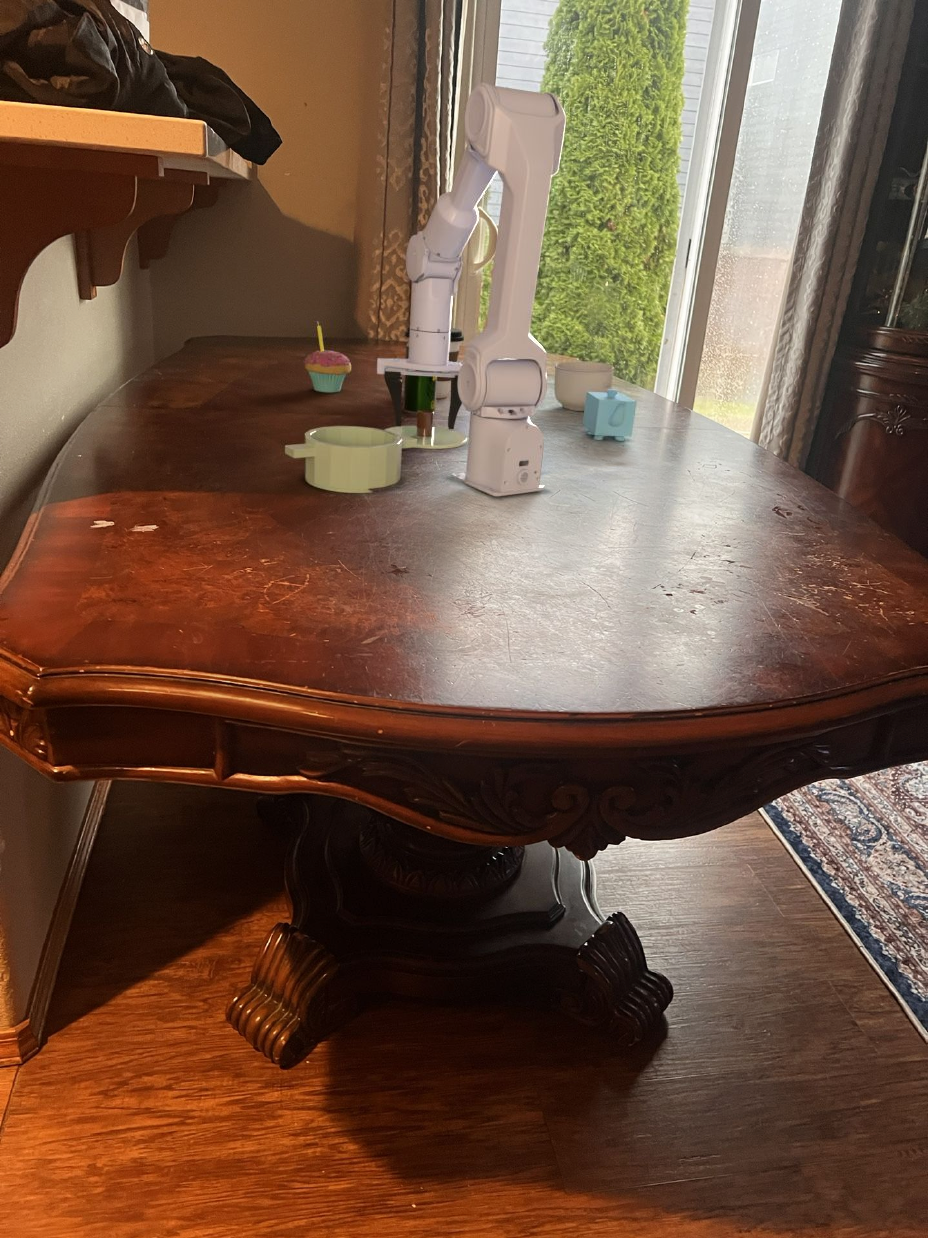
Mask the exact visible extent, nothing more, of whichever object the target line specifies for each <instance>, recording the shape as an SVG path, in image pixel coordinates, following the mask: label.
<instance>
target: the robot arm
mask: <svg viewBox="0 0 928 1238" xmlns="http://www.w3.org/2000/svg"><path fill="white" fill-rule="evenodd" d="M465 105H466V106H465V110H464V137H465V143H466V147H465V149H464V152H463V156H462V158H461V161H460V163H459V167H458V169H457V173H456V175H455V178H454V181H453V185H452V187H451V190H450V191H447V192H444V193H442V194H441V195H440V196H439V197H438V199H437V200H436V203H435V205H434V207H433V209H432V212H431V214H430V216H429V218H428V220H427V223H426V225H425V228H424V230H422V231H420V230H419V231H418V232H417V234H413V235H412V236H410V238H409V241H408V244H407V247H406V252H405V269H406V270H405V271H406V274H407V277H408V279H409V280H410V281H411V293H410V294H411V296H410V318H409V326H410V337H409V338H408V339H409V358H408V359H406V358H386V357H385V358H383V357H381V358H380V357H377V358H376V374H377V375H383V376H384V382H385V384H386V387H387V389H388V392H389V394H390V395H389V396H390V398H391V401H392V406H393V409H394V413H395V427H401V426H402V396H403V395H402V394H403V376H405V375H418V376H435V377H452V378H451V387H450V401H449V409H448V416H447V427H448V428H447V429H449V430H454V429H455V424H456V420H457V417H458V413H459V411H460V408H461V406H462V405H463V406H464V408H465V411H468V412H470V416H469V428H468V429H469V431H468V440H467V442H468V444H467V454H466V455H467V456H466V467H465V468H466V469H465V472H458V473H452V474H451V476H453V477H455V478H457V479H459V480H461V483H463V484H465V485H467V486H470V487H472V488H474V489H476V490H479V491H481V492H483V493H485V494H488V495H490V496H493V497H496V498H497V497H505V496H511V495H512V496H513V495H521V494H526V493H534V492H542V491H544V490H545V485H542V484H541V475H542V466H543V457H544V447H545V441H544V440H545V439H544V435H543V433H542V430H541V429H540V428H539V427H538V426H537V425H535V424H533V422H532V421H531V419H530V417H534V416H535V410H536V409H538V408H539V407H541V405H542V403H543V401H544V399H545V397H546V395H547V392H548V391H547V390H548V375H547V359H548V352H547V351H546V350H545V348H544V347H543V346H542V344H541V343H539V342H538V341H537V340H536V338H534V336H533V335H532V334H531V333H530V331H531V324H532V323H531V322H532V316H533V310H534V304H535V294H536V289H537V281H538V275H539V267H540V261H541V254H542V253H541V252H542V248H543V247H542V246H543V239H544V233H545V225H546V218H547V210H548V205H549V198H550V197H549V196H550V191H551V185H552V184H551V183H552V177H553V176H554V175H556V174H558V173H559V169H560V162H561V158H562V157H561V156H562V150H563V144H564V143H563V142H564V136H565V129H566V123H567V121H566V120H567V115H566V113H565V111H564V108H563V106H562V103H561V101H560V99H559V97H558V96H557V95H556V94H555V93H553V92H537V91H531V90H525V89H517V88H513V87H512V88H511V87H505V86H499V85H492V84H490V83H488V82H479V83H478V84H476V86H474V88H473V90H472V91H471V93H470V94H469V96H468V98H467V101H466V104H465ZM497 174H498V176H499V178H500V180H501V182H502V195H501V202H500V211H499V217H498V218H499V219H498V226H497V235H496V245H495V252H494V260H493V268H492V269H493V270H492V275H491V276H492V277H491V286H490V292H489V293H490V295H489V303H488V309H487V319H486V327H485V328H484V329H483V330H482V331H481V332H479V333H478V334H477V335H475V337H473V338H472V339H471V340H469V342H467V344H466V345H465V350H464V355H463V360H462V362H460V361H459V362H458V361H457V362H450V361H448V360H449V344H450V329H451V328H452V313H453V312H452V310H453V298H455V297H456V296H457V293H458V284H459V280H460V278H461V275H462V272H463V265H464V262H463V255H462V254H463V251H464V249H465V248H466V246H467V244H468V242H469V240H470V238H471V236H472V234H473V232H474V231H475V229H476V226H477V224H478V223H479V219H480V215H479V210H478V207H477V205H478V203H479V202H480V200H481V199H482V198H483V195H484V194H485V193H486V190H487V189H488V187H489V186H490V184H491V183H492V181H493V180H494V179H495V176H496V175H497ZM407 370H408V371H407ZM415 370H421V371H441V372H442V373H438V372H421V371H415Z"/></svg>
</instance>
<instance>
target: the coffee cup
mask: <svg viewBox="0 0 928 1238" xmlns="http://www.w3.org/2000/svg"><path fill="white" fill-rule="evenodd" d="M404 337H406V338H407V339H409V337H410V325H409V326H408V327H407V330H406V331H405V332H404ZM464 341H465V336H464V334H463V331H462V329H460V328H456V327H451V329H450V344H449V360H448V361H450V362H458V359H459V353H460V344H461V342H464ZM437 372H438V373H442V372H441V371H437ZM451 378H452V377H437V386H436V399H445V398H447V397H448V396H449V394H450V392H451Z"/></svg>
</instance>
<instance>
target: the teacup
mask: <svg viewBox="0 0 928 1238" xmlns="http://www.w3.org/2000/svg"><path fill="white" fill-rule="evenodd" d="M614 372H615V367H614V366H613V365H612V364H608V363H603V362H598V361H597V362H596V361H584V360H582V361H581V360H570V361H561V362H558V363H555V364H554V396H555V399H556V401H558V403H560V405H561V406H562V407H563V408H564V409H566V410H570V411H577V412H584V409H585V402H586V394H587V392H605V393H607V389H613V380H614Z"/></svg>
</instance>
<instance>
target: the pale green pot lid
mask: <svg viewBox="0 0 928 1238" xmlns="http://www.w3.org/2000/svg"><path fill="white" fill-rule="evenodd" d="M434 417H435V412H433V411H431V410H418V411H417V413H416V425H401V427H397V426H393V427H392V426H391V427H388V428H385V429H384V430H385V431H389V432H391V433H394V434H396V435H399V436H405V435H407V436H409V437H412V438H414V439H417V446H416V447H413V448H414V449H428V450H429V449H430V450H431V449H432V450H440V449H441V450H442V449H453V448H458V447H462V446H464V445H465V444H467V442H468V437H467V436H466V434H463V433H461V432H459V431H456V430H454V429H449V428H445V427H444V428H443V427H437V426H434Z"/></svg>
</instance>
